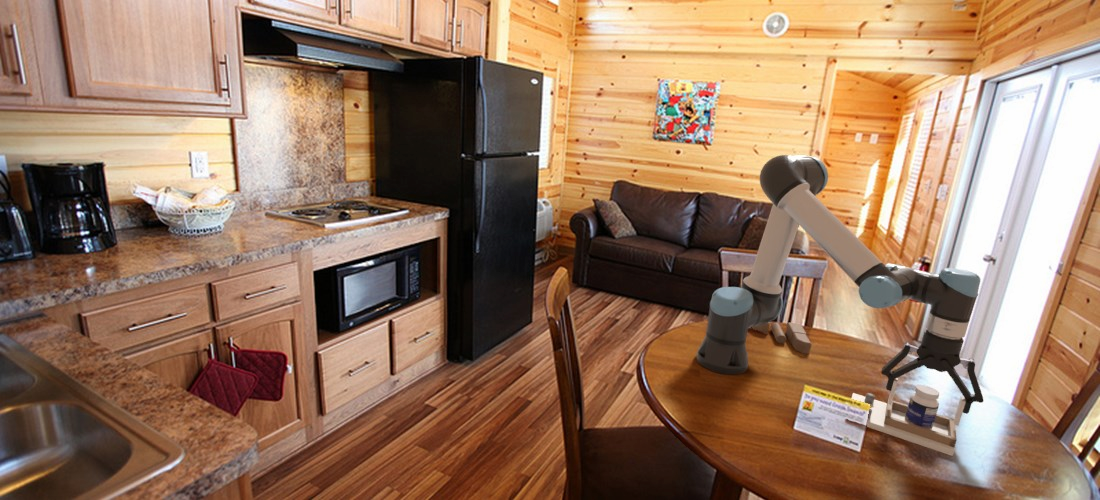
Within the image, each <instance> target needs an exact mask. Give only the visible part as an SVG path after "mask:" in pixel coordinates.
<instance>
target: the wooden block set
mask: <svg viewBox="0 0 1100 500" xmlns="http://www.w3.org/2000/svg"><path fill="white" fill-rule="evenodd" d="M770 323H771V322H768V323H765V324H761V325H758V326H754V327H752V328H753V329H752V328H751V329H752V330H754V329H756V330H758V331H757V332H759V331H760V332H759V333H761V332H762V334H764V333H765V334H764V335H766V334H767V335H766V336H768V335H769V331H770V330H769V329H770V328H771V331H772V334H773V336H774V339H775V340H776V342H777V343H779V344H781V343H782V344H785V343H786V342H787V339H788V338H789V339H788V340H790V341H789V342H791V343H790V344H792V347H793V349H794V350H795V351H796V350H797V352H798V353H801V354H803V353H804V354H805V355H809V354H810V352H811V350H812V342H811V341H810V339H809V337H808V335H807V332H806V330H805V329H804V327H803V325H802V324H801V323H796V322H795V323H794V322H788V323H787V325H786V329H785V332H784V330H783V328H782V326H781V324H780V323H779V322H772V323H771V324H770ZM756 330H755V331H756ZM787 336H788V337H787Z"/></svg>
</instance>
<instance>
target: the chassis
mask: <svg viewBox="0 0 1100 500" xmlns="http://www.w3.org/2000/svg"><path fill="white" fill-rule="evenodd" d="M875 397H876V396H875V394H873V393H870V392H867V393H865V396H864V395H862V394H858V393H855V392H853V393H852V395H851V399H854V400H857V401H861V402H864V403H868V404H870V406H871V408H870V409H869V414H868V420H867V428H869V429H873V430H874V431H875V430H876V431H879V432H881V433H884V434H887V435H890V436H892V437H896V438H899V439H902V440H905V441H906V442H910V443H913V444H916V445H919V446H922V447H924V448H928V449H930V450H934V451H936V452H939V453H942V454H945V455H949V456H951V457H954V455H955V446H956V443H957V440H958V439H957V433H956V431H957V430H956V425H954V418H950V417H947V416H944V415H940V414H938V413H937V414H936V417H935V421H934V424H933V427H932V429H931V430H930V429H927V428H924V427H921V426H918V425H914V424H911V423H908V422H905V416H906V412H907V408H908V405H909V404H905V403H902V402H899V401H896V400H893V401H892V404H891V405H890V404H888V401H886V402H887V403H886V402H884V401H880V400H877V399H875ZM851 399H850V400H851Z"/></svg>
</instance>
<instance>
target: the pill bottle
mask: <svg viewBox="0 0 1100 500" xmlns="http://www.w3.org/2000/svg"><path fill="white" fill-rule="evenodd" d="M939 396H940V391H938V389H936V388H934V387H931V386H928V385H925V384H917V385H916V386H915V390H914V393H912V394H911V395H910V399H909V402H908V404H907V405H908V408H907V412H906V416H905V422H908V423H911V424H914V425H918V426H921V427H924V428H927V429H930V430H931V429H932V427H933V424H934V421H935V417H936V414H938V411H939V406H940V402H939V401H938V400H937V399H939Z"/></svg>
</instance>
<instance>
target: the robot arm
mask: <svg viewBox="0 0 1100 500" xmlns="http://www.w3.org/2000/svg"><path fill="white" fill-rule="evenodd" d="M828 181H829V172H828V168H827V167H826V164H825V163H824V162H823V161H822V160H821V159H819V158H817V157H814V156H810V155H805V154H800V155H799V154H798V155H795V154H794V155H793V154H791V155H789V154H788V155H787V154H783V155H782V154H781V155H777V156H775V157H772V158H771V159H769V160H767V162H766V163H765V164H764V165H763V166H762V167H761V170H760V173H759V185H760V188H761V190H762V192H763V193H764V194H765V196H766V197H767V198H768V200H769V201H770V202H771V203H772V206H771V210H770V212H769V216H768V219H767V222H766V225H765V227H764V231H763V235H762V238H761V241H760V243H759V247H758V249H757V252H756V253H757V254H756V257H755V260H754V263H753V266H752V269H751V271H750V272H751V273H750V275H748V276H745V277H744V278H743V281H742V283H741V287H739V286H724V287H723V286H722V287H720V288H719V287H718V288H717V289H716V290H714V292H713V293H712V296H711V300H710V301H709V311H708V317H707V318H708V319H707V323H706V324H707V325H706V331H705V336H704V338H703V340H702V342H701V343H700V344H699V345H700V346H699V348H698V349H697V352H696V358H695V359H696V361H697V363H699V364H700V366H702V367H704V368H706V369H707V370H709V371H712V372H715V373H718V374H723V375H740V374H744V373H745V372H747V370H748V367H749V357H748V351H747V347H746V341H747V337H748V332H749V331H748V330H749V329H752V328H751V327H754V326H758V325H761V324H765V323H768V322H769V323H771V321H774V320H776V319H777V317H779V316H780V314H781V313H782V312H783V311H782V310H783V307H784V299H783V298H782V292H783V288H782V287H781V285H780V282H781V279H782V276H783V272H784V271H785V270H784V269H785V267H786V264H787V262H788V258H789V256H790V252H791V250H792V248H793V245H794V244H793V243H794V241H795V237H796V235H797V232H798V230H799V226H800V227H801V228H802V229H803V231H805V233H807V234H808V235H809V236H810V238H811V239H813V241H814V242H815V243H816V244H817V246H819V247H820V248H821V249H822V250H823V251H824V253H826V254H827V255H828V256H829V258H830V259H831V260H832V261H833V262H835V263H836V265H837V266H838V267H839V268H840V269H841V270H842V272H844V273H845V274H846V276H848V278H849V279H851V281H852V282H854V284H855V285H856V286H857V287H858V295H859V298H860V300H861V301H862V302H863V303H864V304H865V305H867V306H868V307H871V308H873V309H885V308H891V307H893V306H896V305H898V304H900V303H902V302H905V301H907V300H911V301H916V302H918V303H921V304H922V303H923V304H926V305H929V306H930V310H929V313H928V317H927V321H926V325H925V328H926V329H925V330H924V332H923V334H922V338H921V343H920V345H919V346H918V347H917V346H915V345H913V344H912V345H911V343H910V342H907V341H906V342H905V343H904V345H903V347H902V349H901V350H900V351H899V352H898V353H897V354H896V355H895V356H894V357H892V359H890V360H889V361H888V362H887V363H886V364H885V365H884V366H883V367H882V368H881V372H880V373H881V374H882V376H885V377H887V382H886V386H885V388H886V389H885V390H887V391H890V392H889V396H888V398H887V399H888V400H887V402H888V404H890V405H891V404H892V401H894V396H895V393H896V390H897V384H898V380H899V378H900V377H902V376H904V375H906V374H908V373H910V372H912V371H914V370H916V369H919V368H921V367H923V366H924V367H925V368H926V369H930V370H936V371H937V372H939V373H943V372H944V373H945V372H947V374H948V375H949V377H950V378H951V379H952V381H953V382H954V384H955V385H956V387H957V389H958V390H959V391H960V393H961V395H960V399H959V402H958V405H957V407H956V412H955V415H954V418H953V419H954V425H955V426H957V427H959V425H960V422H961V419H962V416H963V414H969V412H970V410H971V407H972V404H973V403H974V402H977V403H984V397H983V394H982V390H981V388H980V384H979V381H978V379H977V378H978V377H977V375H976V372H975V367H976V363H975V362H976V361H975V359H973V358H971V357H970V358H968V359H967V358H961V357H960V354H961V351H962V348H963V344H964V342H965V341H964V339H963V338H965V337H966V333H967V331H968V327H969V324H970V320H971V317H972V313H973V310H974V308H975V305H976V304H975V303H976V302H977V297H978V296H979V289H980V285H981V277H980V276H979V275H978V274H977V273H975V272H973V271H968V270H965V269H958V268H955V267H953V268H952V267H946V268H942V269H941V270H940V271H939V273H935V272H934V273H932V272H929V271H925V270H920V269H916V268H912V267H908V266H905V265H902V264H893V263H885V264H884V262H883V261H881V260H880V259H879V258H878V256H877V255H875V253H873V252H872V251H871V249H869V247H867V246H866V245H865V244H864V243H863V242H862V241H861V240H860V238H858V237H857V235H855V234H854V233H853V232H852V231H851V230H850V229H849V228H848V227H847V226H846V225H845V224H844V223H843V222H842V221H841V220H840V219H839V218H838V217H837V216H836V215H835V214H834V213H833V212H832V211H831V210H830V209H829V208H828V207H827V206H826V205H825V204H824V203H823V202H822V201H821V200H820V199H818V197H817V196H816V195H818V194H820V193H821V192H822V191H824V189H825V188H826V186H827V184H828ZM913 353H916V355H917V356H918V357H916V358H914V360H912V361H909V362H908V363H906V364H903V365H902V366H900V367H898V368H895V367H897V365H899V363H901V362H902V361H903V360H905V358H907V356H908V355H912V354H913ZM960 364H961V365H962V366H963V368H964V369H966V371H967V375H968V378H969V381H970V384H971V387H972V390H973V394H972V393H971V391H970V390H969V389H968V386H966V384H965V382H964V381H963V380H962V378H961V377H960V375H959V374H958V372H957V370H956V369H955V367H957V366H958V365H960ZM894 368H895V369H894ZM893 369H894V370H893Z"/></svg>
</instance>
